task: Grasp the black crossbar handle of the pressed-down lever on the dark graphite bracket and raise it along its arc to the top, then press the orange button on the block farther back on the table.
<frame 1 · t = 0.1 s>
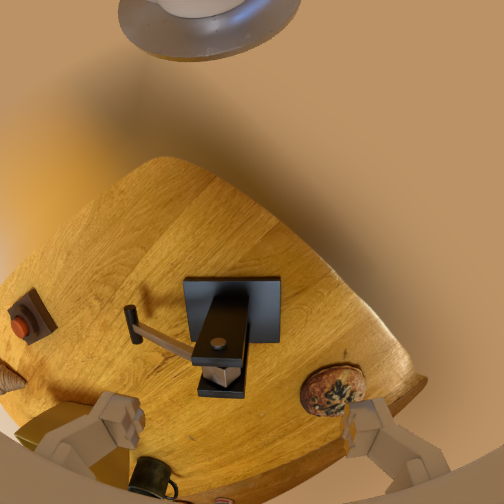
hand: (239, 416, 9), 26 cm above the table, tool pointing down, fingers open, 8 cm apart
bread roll: (333, 387, 40), on the table
pill bottle: (224, 500, 55), on the table
button block: (34, 316, 39), on the table
button: (20, 327, 35), point 4 cm above the table, slide at 0.1 cm
lever: (172, 345, 28), point 9 cm above the table, hinge at -30.0°
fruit: (185, 503, 57), on the table
mug: (160, 467, 50), on the table
flower pot: (96, 422, 47), on the table
seashell: (9, 371, 46), on the table
bracket: (233, 309, 37), on the table
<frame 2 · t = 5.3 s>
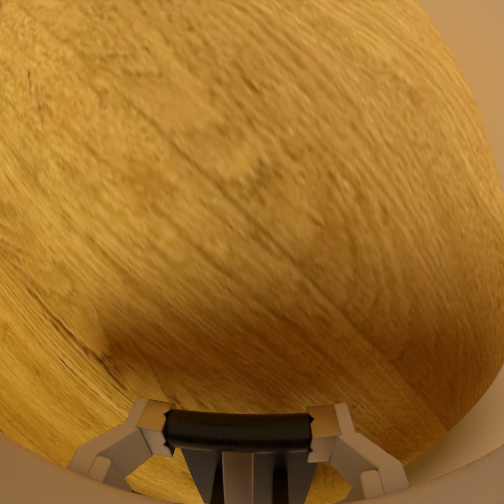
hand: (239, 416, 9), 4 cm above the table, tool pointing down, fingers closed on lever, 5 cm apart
bracket: (252, 470, 17), on the table
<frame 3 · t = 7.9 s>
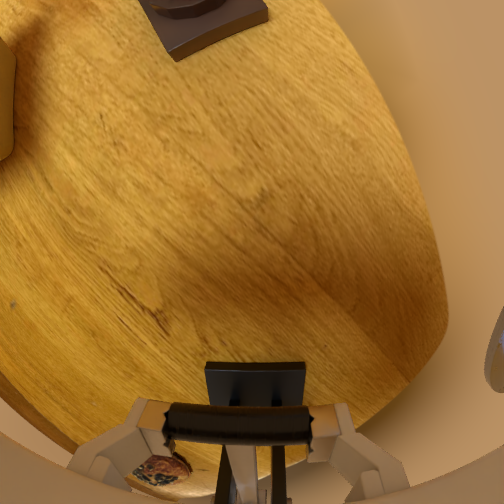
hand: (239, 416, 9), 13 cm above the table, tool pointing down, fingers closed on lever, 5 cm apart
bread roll: (155, 459, 31), on the table
button block: (197, 2, 16), on the table
lever: (247, 483, 12), point 13 cm above the table, hinge at 8.2°, touching gripper
bracket: (256, 405, 26), on the table
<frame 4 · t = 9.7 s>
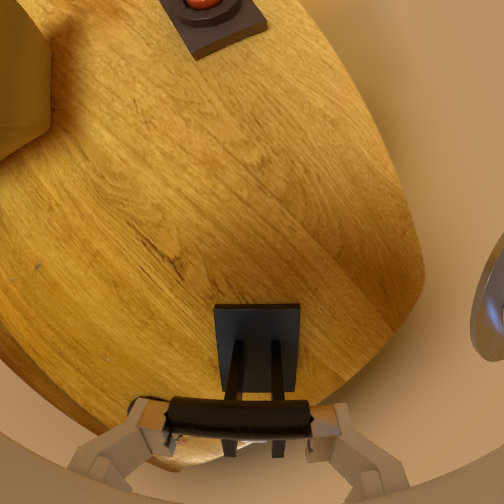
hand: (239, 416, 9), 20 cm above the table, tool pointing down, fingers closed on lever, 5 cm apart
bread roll: (162, 419, 37), on the table
button block: (211, 13, 21), on the table
lever: (249, 426, 15), point 16 cm above the table, hinge at 36.7°, touching gripper
flower pot: (23, 104, 24), on the table
bracket: (257, 349, 32), on the table
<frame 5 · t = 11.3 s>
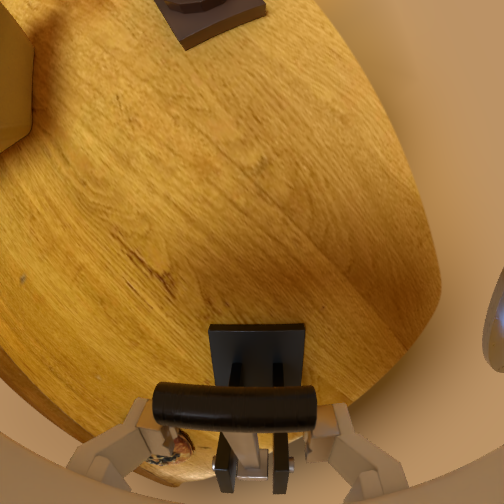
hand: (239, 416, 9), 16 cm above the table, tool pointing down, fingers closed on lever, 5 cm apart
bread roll: (157, 437, 33), on the table
lever: (248, 450, 12), point 15 cm above the table, hinge at 22.5°, touching gripper
flower pot: (5, 106, 21), on the table
bracket: (258, 371, 28), on the table
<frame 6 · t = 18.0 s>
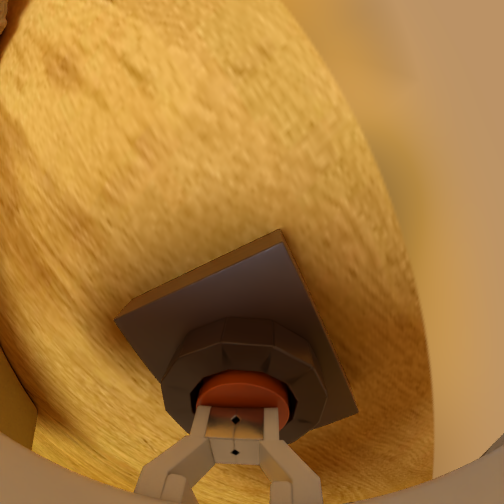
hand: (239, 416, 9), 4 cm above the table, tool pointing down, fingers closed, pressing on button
button block: (248, 351, 14), on the table
button: (243, 400, 10), point 4 cm above the table, slide at -0.9 cm, touching gripper
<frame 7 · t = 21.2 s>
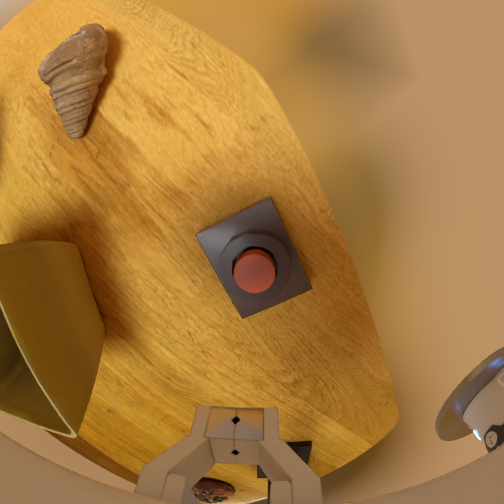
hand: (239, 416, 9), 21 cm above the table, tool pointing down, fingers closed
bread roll: (210, 486, 45), on the table
button block: (256, 256, 30), on the table
button: (254, 270, 25), point 4 cm above the table, slide at 0.1 cm
flower pot: (62, 291, 33), on the table
seashell: (91, 79, 25), on the table
bracket: (282, 459, 40), on the table
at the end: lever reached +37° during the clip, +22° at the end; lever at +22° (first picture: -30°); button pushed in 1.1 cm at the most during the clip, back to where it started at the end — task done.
